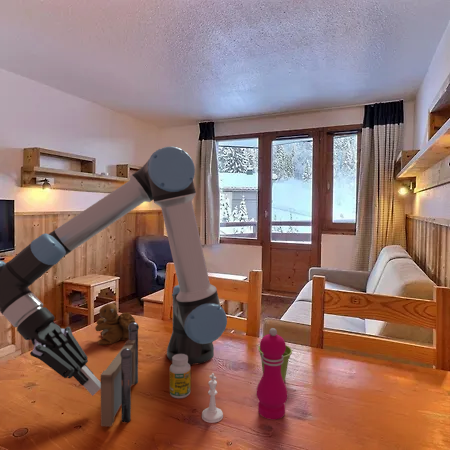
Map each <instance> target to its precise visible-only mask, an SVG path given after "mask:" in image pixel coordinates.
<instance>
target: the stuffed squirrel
mask: <svg viewBox="0 0 450 450" xmlns="http://www.w3.org/2000/svg"><path fill="white" fill-rule="evenodd" d="M98 311H99V317H100V318H99V319H97V320H96V325H95V328H94V329H95V331H96V332H100V335H101V337H102V338H100V339H98V341H97V344H98V345H99V346H104V345H111V344H114V343H117V342H118V341H120V340H121V341H125V340H126V341H127V340H129V330H128V326H129V324H130V323H132V322H135V323H136V319H135V317H133V315H132V314H131V313H130V312H121V313H120V314H118V309H117V303H116V302H112V303H107V304H105V305H102V306H101V307H100V308H99V310H98Z"/></svg>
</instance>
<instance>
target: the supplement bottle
mask: <svg viewBox="0 0 450 450" xmlns="http://www.w3.org/2000/svg"><path fill="white" fill-rule="evenodd" d="M171 363H172V364H171V365H170V366H169V395H170V396H171V397H172V398H174V399H185V398H186V397H188V396H190V394H191V385H192V383H191V382H192V381H191V379H192V378H191V365H190V364H189V363H188V356H187V355H185V354H176V355H174V356H173V357H172V361H171Z"/></svg>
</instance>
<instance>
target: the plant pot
mask: <svg viewBox="0 0 450 450" xmlns="http://www.w3.org/2000/svg"><path fill="white" fill-rule="evenodd" d="M257 347H258V352H259V356H260V359H261V360H260V361H261V368H262V369H261V370H262V373H263V372H264V363H263V362H262V354H263V353H262V351H261V349H260V345H258V346H257ZM292 353H293V350H292V348H291V347H290V346H289V345H286V350H285V352H284V354H283V357H284V358H283V364H281V375H282V378H283V381H284V382H285V381H286V377H287V371H288V364H289V359H290V357H291V355H292Z"/></svg>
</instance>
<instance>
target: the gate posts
mask: <svg viewBox="0 0 450 450" xmlns="http://www.w3.org/2000/svg"><path fill="white" fill-rule="evenodd" d="M139 327H140V325H139V324H138V323H137V322H136V321H135V322H132V323H130V324H129V326H128V330H129V338H128V340H135V342H136V348H135V383H134V385H137V384H138V382H139V329H140V328H139ZM131 354H132V352H131V350H130V349H129V348H125V349H123V350H122V351H121V353H120V356H121V406H120V409H121V414H120V415H121V417H120V418H121V420H120V421H121V423H123V424H126V423H129V422H130V421H131V420H132V419H131V418H132V417H131V415H132V414H131V412H132V410H131V409H132V406H131V405H132V402H131V398H132V393H131V391H132V390H131V388H132V386H131Z"/></svg>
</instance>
